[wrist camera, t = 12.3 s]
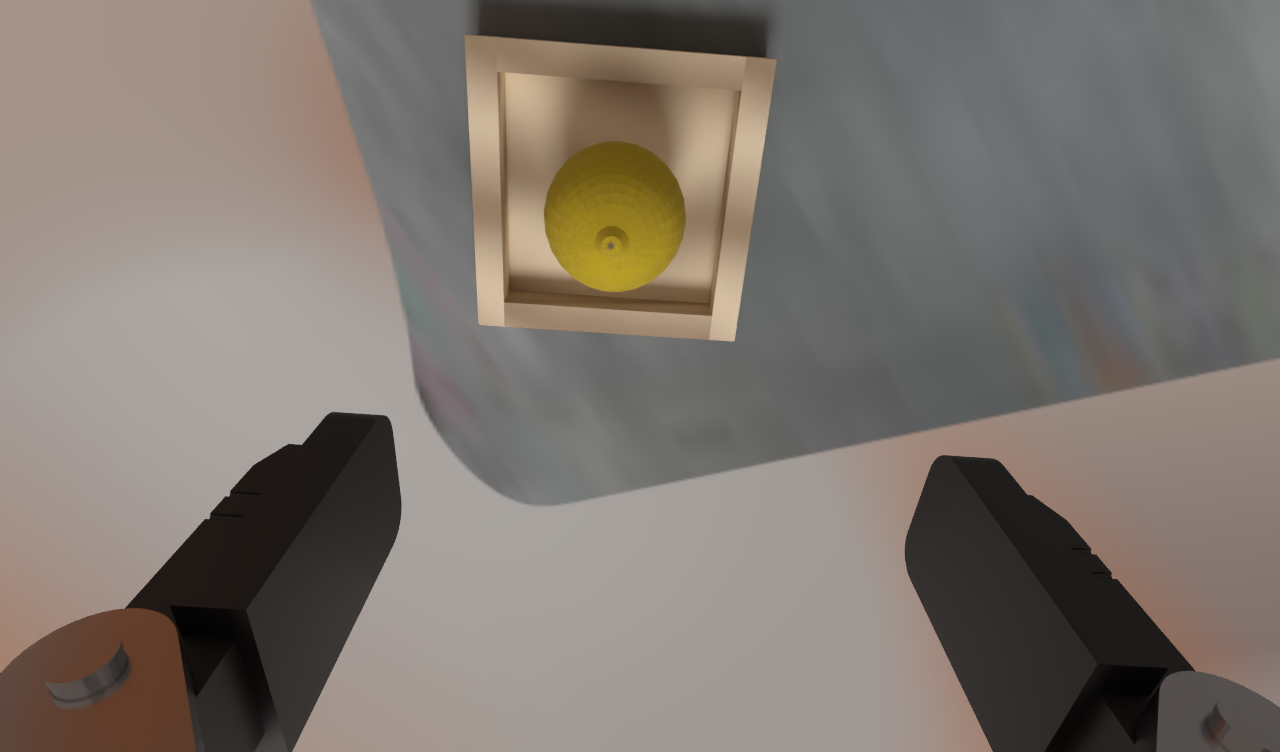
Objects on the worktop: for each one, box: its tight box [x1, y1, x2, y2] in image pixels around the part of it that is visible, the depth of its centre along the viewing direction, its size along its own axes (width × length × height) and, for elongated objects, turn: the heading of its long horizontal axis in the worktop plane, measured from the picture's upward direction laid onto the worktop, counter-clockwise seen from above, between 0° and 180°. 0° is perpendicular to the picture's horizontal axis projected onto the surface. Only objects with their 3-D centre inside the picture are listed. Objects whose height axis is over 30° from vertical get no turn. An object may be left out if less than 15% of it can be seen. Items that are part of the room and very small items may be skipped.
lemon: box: [544, 141, 686, 292], centre depth 26 cm, size 6×6×8 cm
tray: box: [465, 35, 777, 341], centre depth 29 cm, size 12×12×2 cm
